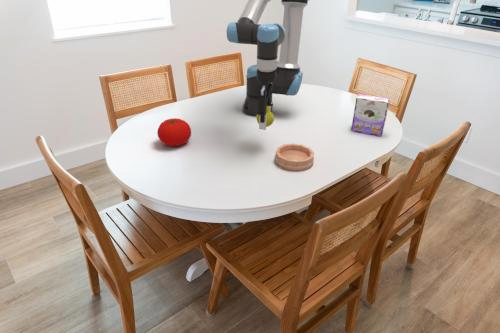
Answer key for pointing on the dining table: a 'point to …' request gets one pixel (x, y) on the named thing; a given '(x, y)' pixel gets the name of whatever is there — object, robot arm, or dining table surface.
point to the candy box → (370, 114)
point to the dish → (294, 157)
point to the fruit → (269, 117)
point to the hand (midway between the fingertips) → (264, 124)
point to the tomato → (174, 132)
